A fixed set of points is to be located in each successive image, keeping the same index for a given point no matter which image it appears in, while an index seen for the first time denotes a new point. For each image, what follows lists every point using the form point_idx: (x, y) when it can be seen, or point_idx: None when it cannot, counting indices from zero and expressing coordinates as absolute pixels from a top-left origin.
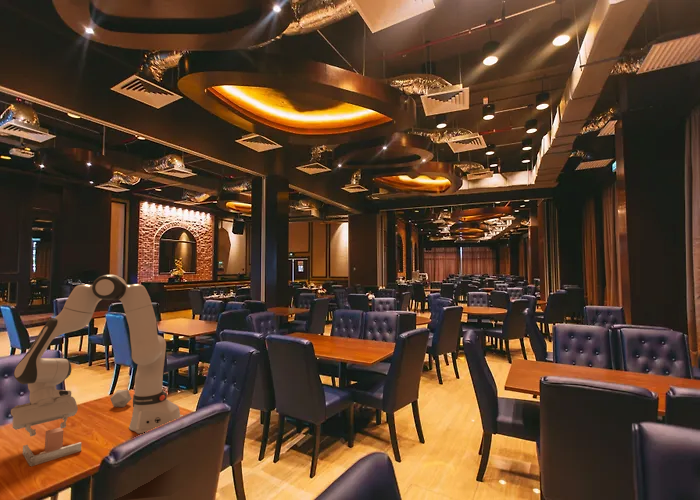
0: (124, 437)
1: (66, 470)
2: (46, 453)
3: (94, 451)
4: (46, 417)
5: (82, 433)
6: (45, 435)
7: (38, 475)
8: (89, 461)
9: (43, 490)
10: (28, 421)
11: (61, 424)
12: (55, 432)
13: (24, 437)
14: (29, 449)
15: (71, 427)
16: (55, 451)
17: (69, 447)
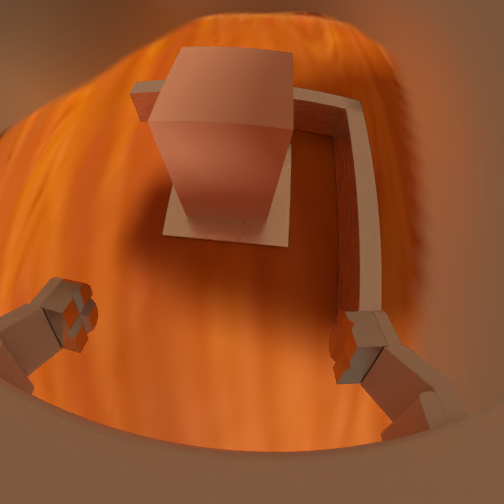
0: (17, 131)
1: (256, 33)
2: (295, 88)
3: (127, 80)
4: (193, 462)
5: None
6: (285, 156)
7: (326, 59)
8: (185, 36)
9: (322, 15)
10: (480, 423)
11: (72, 301)
12: (239, 48)
13: None
14: (361, 213)
15: None
16: None
17: None
